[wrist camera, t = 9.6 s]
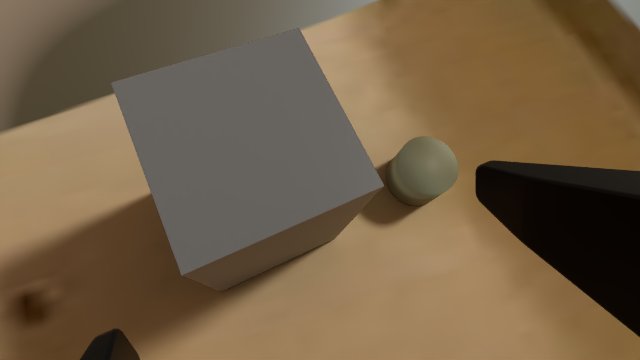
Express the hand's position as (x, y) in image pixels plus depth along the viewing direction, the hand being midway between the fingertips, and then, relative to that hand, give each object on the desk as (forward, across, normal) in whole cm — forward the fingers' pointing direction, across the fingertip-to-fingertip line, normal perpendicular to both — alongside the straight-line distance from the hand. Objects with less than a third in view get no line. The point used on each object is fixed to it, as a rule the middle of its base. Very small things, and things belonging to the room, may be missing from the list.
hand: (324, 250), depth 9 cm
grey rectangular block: (+12, 0, +5) cm, 13 cm away
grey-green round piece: (+10, -9, +7) cm, 15 cm away
